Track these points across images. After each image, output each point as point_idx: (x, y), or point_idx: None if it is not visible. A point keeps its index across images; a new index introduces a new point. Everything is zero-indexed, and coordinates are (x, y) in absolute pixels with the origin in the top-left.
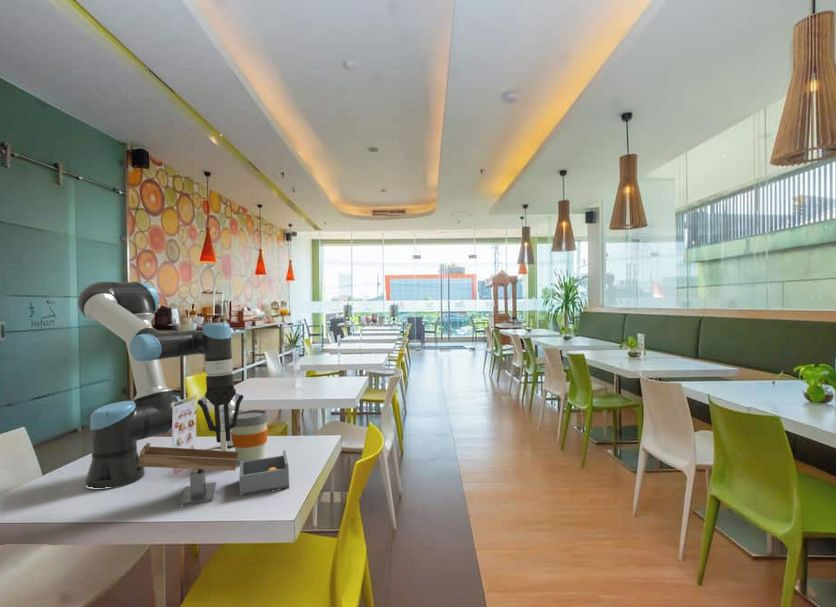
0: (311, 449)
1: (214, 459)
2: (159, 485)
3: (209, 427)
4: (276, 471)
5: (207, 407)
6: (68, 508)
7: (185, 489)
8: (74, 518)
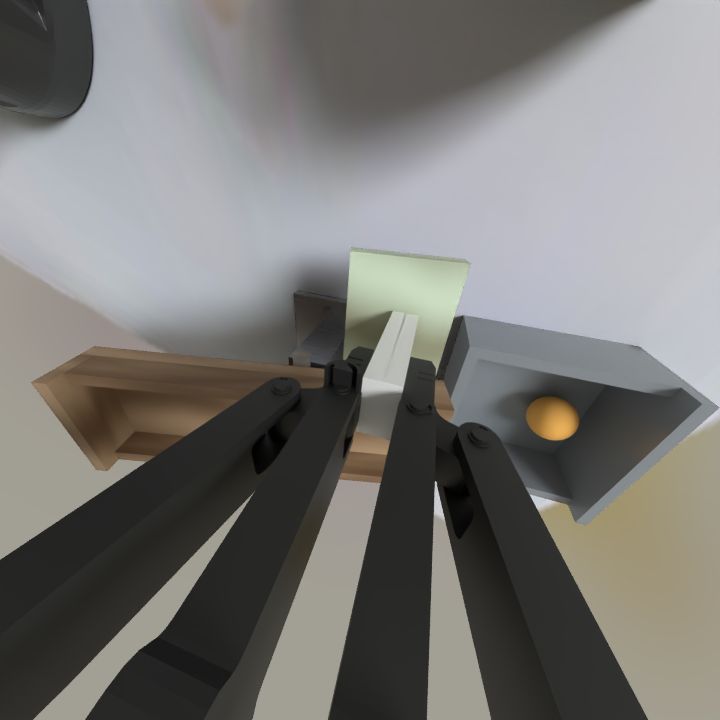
0: None
1: (349, 477)
2: (206, 187)
3: (268, 444)
4: (536, 494)
5: (18, 631)
6: (59, 243)
7: (297, 315)
8: (118, 317)
